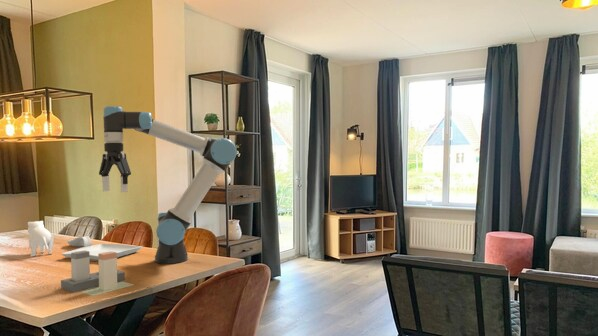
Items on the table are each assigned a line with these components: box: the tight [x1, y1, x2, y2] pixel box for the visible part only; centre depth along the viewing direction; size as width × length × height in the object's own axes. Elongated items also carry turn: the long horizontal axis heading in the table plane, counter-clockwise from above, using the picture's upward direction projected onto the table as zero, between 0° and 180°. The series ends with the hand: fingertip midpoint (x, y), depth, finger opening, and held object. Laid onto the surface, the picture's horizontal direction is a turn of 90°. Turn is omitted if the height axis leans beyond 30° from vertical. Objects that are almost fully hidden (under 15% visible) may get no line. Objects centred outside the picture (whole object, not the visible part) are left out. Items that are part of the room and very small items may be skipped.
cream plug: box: [98, 251, 118, 291], centre depth 156 cm, size 5×4×13 cm
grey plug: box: [70, 250, 91, 282], centre depth 158 cm, size 5×4×13 cm
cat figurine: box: [23, 220, 55, 258], centre depth 221 cm, size 25×10×17 cm, turn 47°
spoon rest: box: [66, 235, 93, 248], centre depth 239 cm, size 24×12×7 cm, turn 43°
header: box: [60, 269, 126, 294], centre depth 162 cm, size 20×9×4 cm, turn 144°
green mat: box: [81, 281, 134, 297], centre depth 157 cm, size 16×8×1 cm, turn 144°
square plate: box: [60, 243, 143, 262], centre depth 217 cm, size 27×27×4 cm
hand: (115, 191), depth 185 cm, fingers open, 13 cm apart
